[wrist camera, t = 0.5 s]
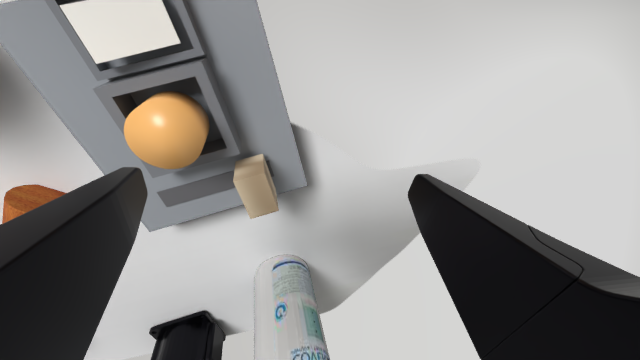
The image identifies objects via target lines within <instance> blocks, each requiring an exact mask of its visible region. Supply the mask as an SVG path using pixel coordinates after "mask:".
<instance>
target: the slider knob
mask: <svg viewBox="0 0 640 360" xmlns="http://www.w3.org/2000/svg"><path fill="white" fill-rule="evenodd" d="M233 182H234V185H235V187H236V189H237V191H238V193H239V195H240V197H241V199H242V202H243V204H244V206H245V208H246V210H247V212H248V214H249V217H250V219H252V218H256V217H259V216H262V215H266V214H269V213H272V212H276V211H279V209H278V202H277V195H276V188H275V186H274V183H273V180H272V177H271V175H270V172H269V169H268V166H267V164H266V161H265V158H264V155H263V154H260V155H256V156H252V157H249V158H245V159H242V160H238V161H235V170H234V178H233Z"/></svg>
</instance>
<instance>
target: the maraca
mask: <svg viewBox="0 0 640 360" xmlns="http://www.w3.org/2000/svg"><path fill="white" fill-rule="evenodd" d="M65 194H67V193H64V192H60V191H57V190H54V189H50V188H47V187H44V186H40V185H23V186H19V187H15V188H12V189H11V190H9V191H8V192H6V194H5V197H4V208H3V222H2V224H3V223H5V222H7V221H10V220H12V219H14V218H16V217H18V216H20V215H22V214H24V213H26V212H29V211H31V210H33V209H35V208H37V207H39V206H41V205H43V204H46V203H48V202H50V201H52V200H54V199H56V198H58V197H60V196H62V195H65Z"/></svg>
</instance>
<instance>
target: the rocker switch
mask: <svg viewBox="0 0 640 360" xmlns="http://www.w3.org/2000/svg"><path fill="white" fill-rule="evenodd" d="M59 6H60V7H61V9H62V11H63V12H64V14H65V15H66V17H67V19H68V20H69V22H70V23H71V25H72V26H73V28H74V30H75V31H76V33H77V34H78V36H79V37H80V39H81V41H82V42H83V44H84V45H85V47H86V49H87V50H88V52H89V53H90V55H91V56H92V58H93V60H94V61H95V63H96V64H98V63H102V62H106V61H110V60H114V59H118V58H122V57H126V56H131V55H135V54H139V53H143V52H147V51H151V50H155V49H159V48H163V47H167V46H171V45H175V44H179V43H181V42H180V39H179V37H178V35H177V33H176V30H175V28H174V26H173V24H172V21H171V19H170V17H169V15H168V12H167V10H166V8H165V6H164V3H163V1H162V0H85V1H80V2H75V3H70V4H64V5H59Z"/></svg>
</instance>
